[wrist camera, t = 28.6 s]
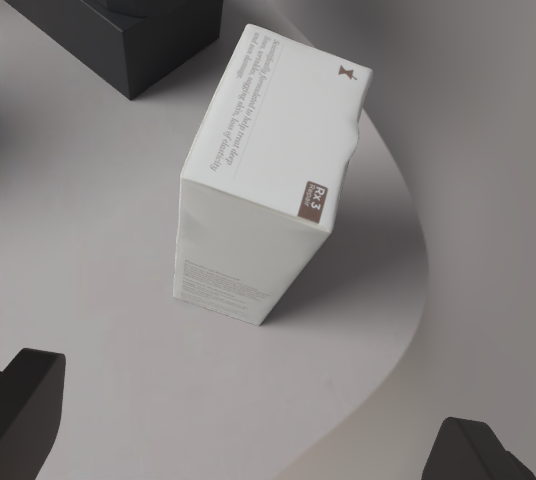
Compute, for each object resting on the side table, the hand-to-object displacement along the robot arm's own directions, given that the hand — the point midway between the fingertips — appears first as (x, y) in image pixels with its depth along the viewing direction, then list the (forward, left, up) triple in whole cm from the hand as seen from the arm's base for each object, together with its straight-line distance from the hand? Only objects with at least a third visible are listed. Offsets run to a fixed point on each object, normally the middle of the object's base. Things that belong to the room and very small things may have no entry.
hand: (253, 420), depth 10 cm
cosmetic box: (0, -11, -18) cm, 21 cm away
